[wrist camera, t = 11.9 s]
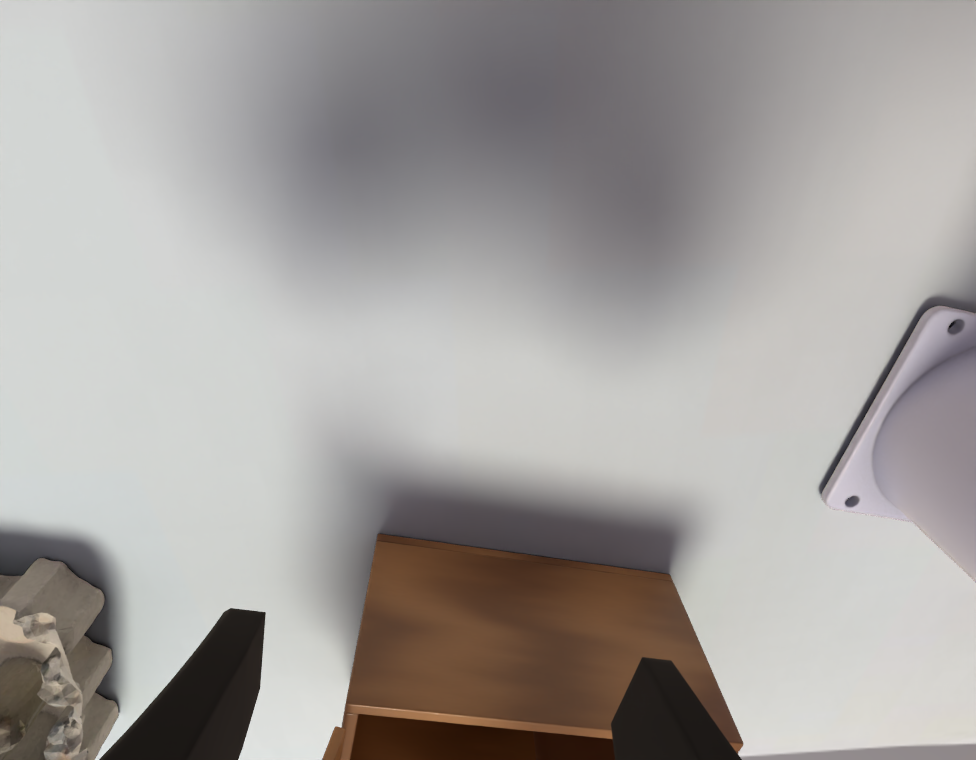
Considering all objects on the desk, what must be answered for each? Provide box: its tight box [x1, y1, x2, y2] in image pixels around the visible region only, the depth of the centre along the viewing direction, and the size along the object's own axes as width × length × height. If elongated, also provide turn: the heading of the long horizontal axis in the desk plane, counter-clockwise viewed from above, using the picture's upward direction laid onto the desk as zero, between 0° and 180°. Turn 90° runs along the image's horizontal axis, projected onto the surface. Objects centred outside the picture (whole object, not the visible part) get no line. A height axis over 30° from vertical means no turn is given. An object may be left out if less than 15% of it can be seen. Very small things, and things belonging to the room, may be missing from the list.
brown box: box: [340, 534, 743, 760], centre depth 22 cm, size 12×9×7 cm
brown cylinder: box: [533, 731, 615, 760], centre depth 22 cm, size 4×4×6 cm
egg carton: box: [0, 558, 119, 760], centre depth 22 cm, size 11×8×4 cm
